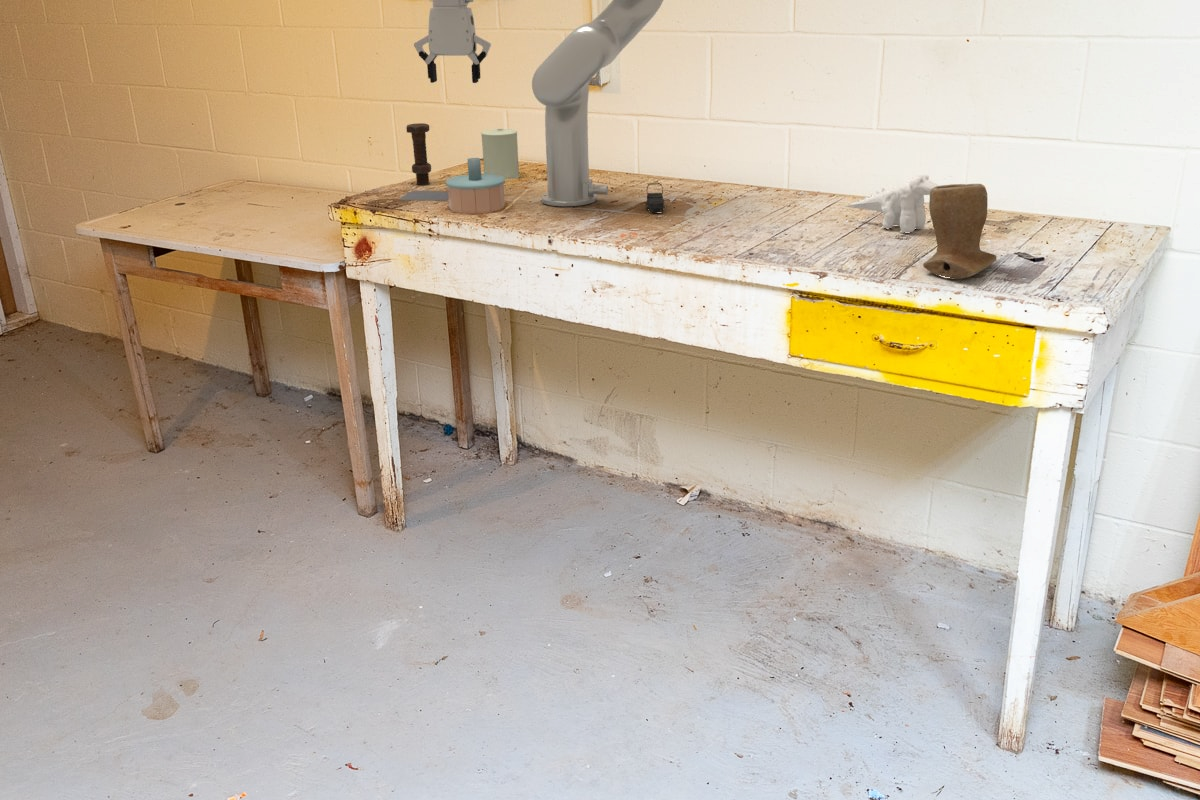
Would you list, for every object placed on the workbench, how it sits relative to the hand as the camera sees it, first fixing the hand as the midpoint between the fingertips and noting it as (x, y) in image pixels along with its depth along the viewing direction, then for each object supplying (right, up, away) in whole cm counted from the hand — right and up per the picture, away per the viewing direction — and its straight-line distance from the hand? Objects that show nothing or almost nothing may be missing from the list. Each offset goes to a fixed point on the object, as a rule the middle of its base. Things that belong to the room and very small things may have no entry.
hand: (454, 82), depth 236 cm
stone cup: (+95, -49, -53) cm, 119 cm away
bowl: (+5, -29, -1) cm, 30 cm away
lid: (+5, -24, -4) cm, 24 cm away
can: (+8, -15, +32) cm, 36 cm away
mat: (-8, -24, +11) cm, 28 cm away
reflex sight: (+45, -30, -5) cm, 54 cm away
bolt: (-11, -19, +24) cm, 33 cm away
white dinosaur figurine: (+92, -37, -26) cm, 103 cm away
